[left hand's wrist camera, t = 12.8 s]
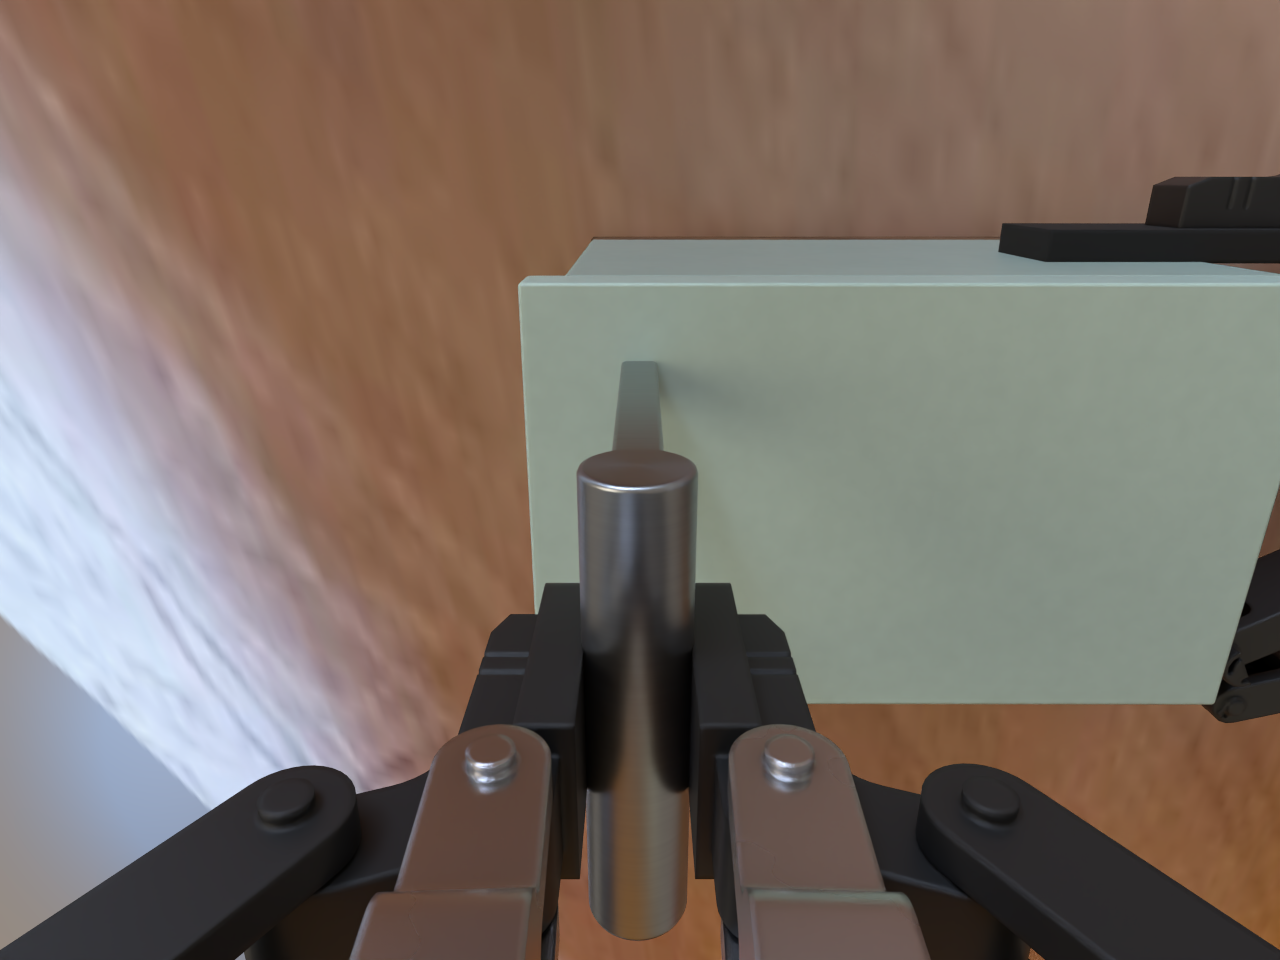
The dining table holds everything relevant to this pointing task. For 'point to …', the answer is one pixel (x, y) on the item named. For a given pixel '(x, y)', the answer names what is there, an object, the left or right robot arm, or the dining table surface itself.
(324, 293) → the dining table surface
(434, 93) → the dining table surface
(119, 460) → the dining table surface
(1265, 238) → the right robot arm
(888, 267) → the chest
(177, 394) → the dining table surface
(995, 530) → the lid
